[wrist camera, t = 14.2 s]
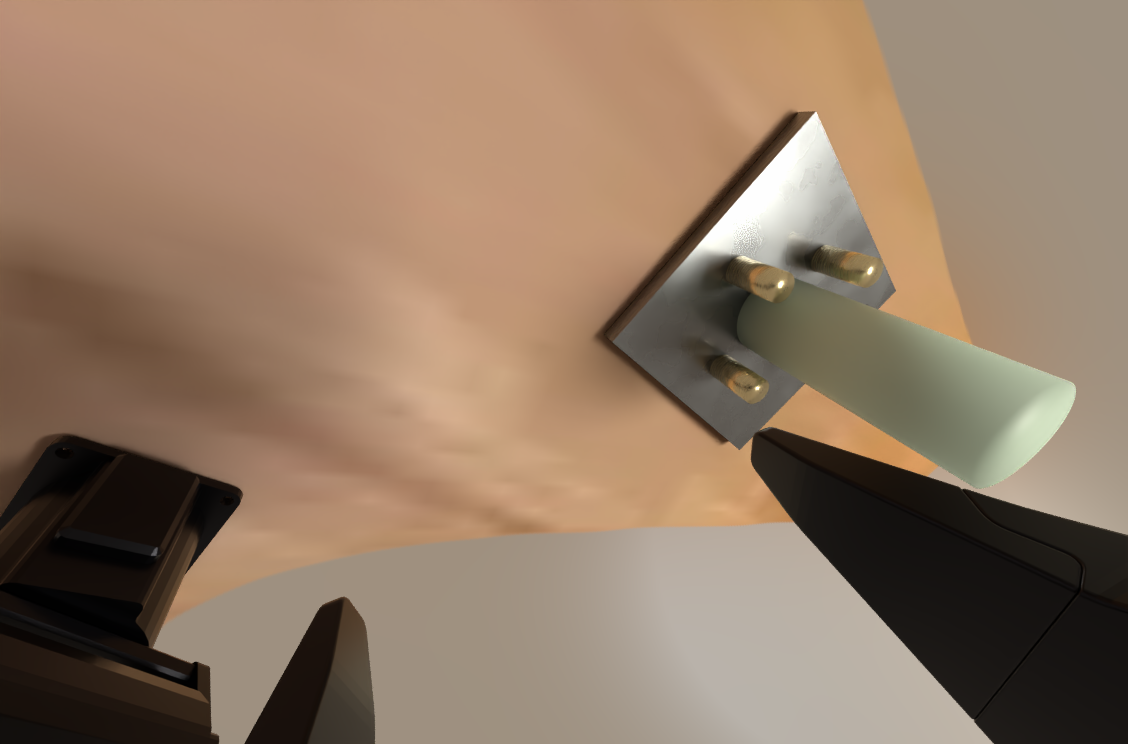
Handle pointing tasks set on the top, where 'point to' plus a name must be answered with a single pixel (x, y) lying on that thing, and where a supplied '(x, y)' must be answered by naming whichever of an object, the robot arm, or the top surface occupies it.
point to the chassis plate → (752, 280)
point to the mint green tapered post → (911, 381)
